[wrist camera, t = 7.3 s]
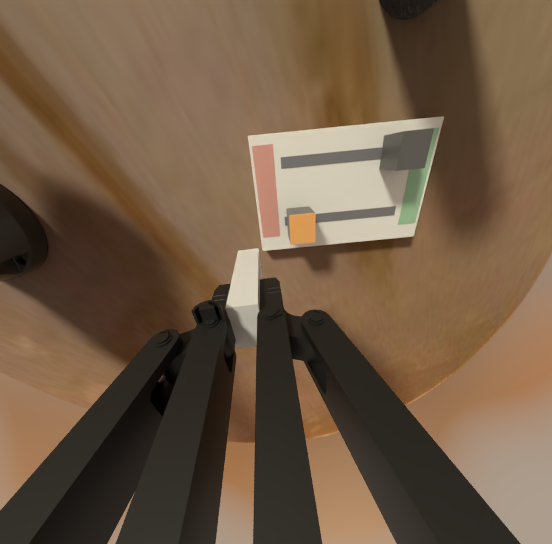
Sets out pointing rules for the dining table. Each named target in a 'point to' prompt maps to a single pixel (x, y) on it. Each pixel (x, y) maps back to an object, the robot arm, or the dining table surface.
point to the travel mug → (406, 7)
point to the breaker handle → (301, 225)
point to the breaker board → (344, 180)
